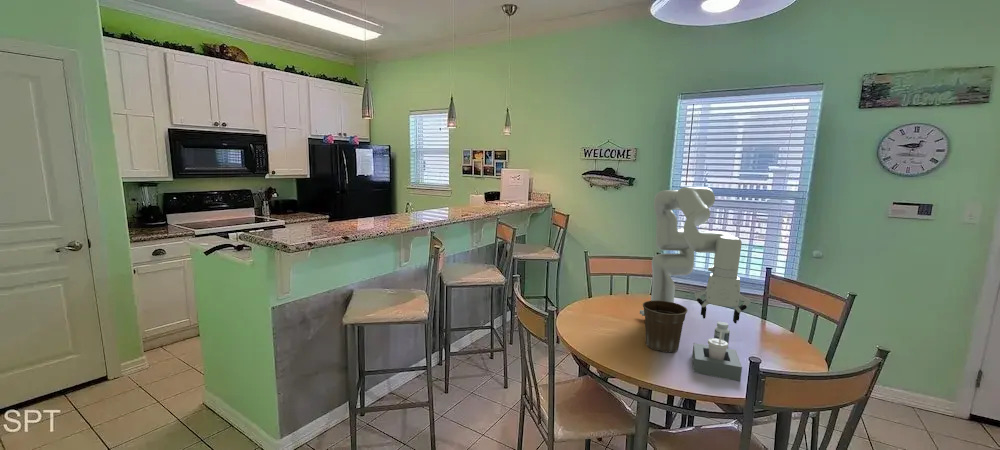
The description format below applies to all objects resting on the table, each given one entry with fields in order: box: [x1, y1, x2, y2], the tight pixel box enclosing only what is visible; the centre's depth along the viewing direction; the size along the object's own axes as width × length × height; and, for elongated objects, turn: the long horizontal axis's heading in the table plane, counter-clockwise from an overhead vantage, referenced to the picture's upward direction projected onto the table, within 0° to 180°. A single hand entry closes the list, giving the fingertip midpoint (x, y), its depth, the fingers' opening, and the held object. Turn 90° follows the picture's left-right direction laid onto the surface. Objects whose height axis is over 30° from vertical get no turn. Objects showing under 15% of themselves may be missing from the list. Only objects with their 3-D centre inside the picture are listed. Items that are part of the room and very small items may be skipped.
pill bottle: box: [713, 321, 730, 345], centre depth 166 cm, size 5×5×9 cm
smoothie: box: [707, 330, 729, 360], centre depth 146 cm, size 6×6×14 cm
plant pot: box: [642, 300, 688, 353], centre depth 163 cm, size 16×16×16 cm
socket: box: [691, 342, 743, 382], centre depth 147 cm, size 14×14×5 cm
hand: (719, 319), depth 145 cm, fingers open, 9 cm apart
